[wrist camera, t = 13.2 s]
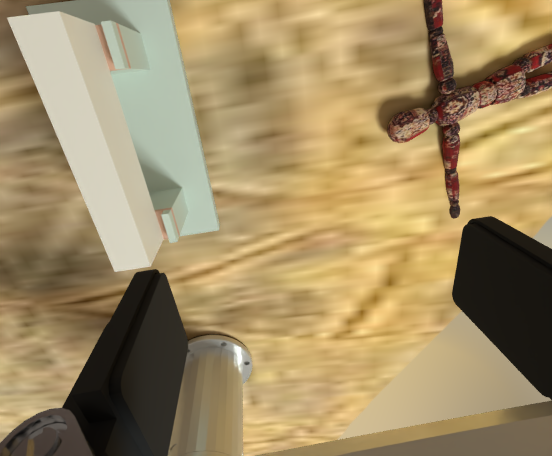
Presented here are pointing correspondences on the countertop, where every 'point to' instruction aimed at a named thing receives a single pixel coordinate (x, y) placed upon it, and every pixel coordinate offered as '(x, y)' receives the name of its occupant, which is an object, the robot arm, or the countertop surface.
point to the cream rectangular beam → (91, 132)
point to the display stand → (154, 106)
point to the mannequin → (464, 97)
